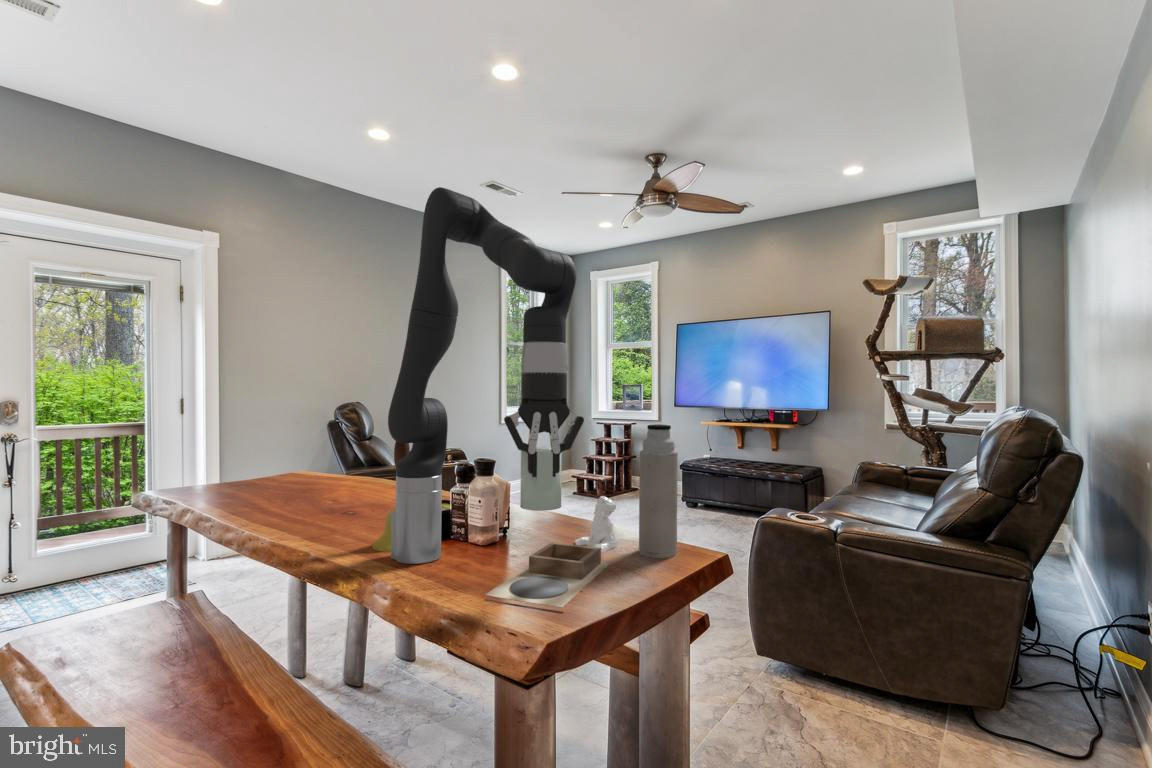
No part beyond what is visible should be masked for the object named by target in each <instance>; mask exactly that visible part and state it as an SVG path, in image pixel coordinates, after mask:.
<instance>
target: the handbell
mask: <svg viewBox="0 0 1152 768" xmlns="http://www.w3.org/2000/svg"><path fill="white" fill-rule="evenodd" d="M393 449H394V450H393V454H394V455H393V461H394V466H395V467H396V465H397V463H398V461H399V460H401V459H402V458H404V457H405V456H406V455H407V454H408V453H409V452H410V451H411V447H410V443H399V442H397V441H395V443H394V447H393ZM394 511H396V506H395V507H394V508H393V510H391V511H389V512H388V513H387V514H386V515H385V516H386V517H385V529H384V531H383V533H382V535H381V536H380V537H379V538H378V539H377V540H376V541H374V542H373V544H372V549H373V550H374V551H377V550H378V551H379V552H382V551H383V552H384V553H391V514H392V512H394ZM378 551H377V552H378Z"/></svg>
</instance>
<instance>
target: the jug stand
mask: <svg viewBox="0 0 1152 768" xmlns="http://www.w3.org/2000/svg"><path fill="white" fill-rule="evenodd" d="M609 565H610V563H604V562H602V553H601V548H596V547H588V546H587V545H576V544H570V543H569V544H568V543H559V542H553V541H552V542H550V543H548V544H547V545H545V546H544V547H542V548H541V549H539V550H537V551H536V552H534V553H532V554H530V555H529V556H528V566H526V567H525V568H523V569H522V570H521V571H519V572H517V573H515V574H514V575H513V576H511V577H510V578H508V579H507V580H506V581H504V582H502V583H500V584H499V585H497V586H496V587H494V588H493V589H491V590H490V591H488V592H487V593H485V594H484V596H487V597H494V598H500V599H505V600H511V601H519V602H524V603H529V604H537V605H543V606H548V607H549V606H550V607H555V608H564V607H565V606H566V605H567V604H568V603H569V602H570V601H571V600H572V599H573V598H574V597H575V596H577V594H579V593H580V592H581V591H582V590H583V589H584V588H586V586H588V585H589V583H590V582H592V581H593V580H594V579H595V578H596V577H597V576H598V575H599V574H600V573H602V572H603V571H604V570H605V569H606V568H607V567H608V566H609ZM483 601H484V602H488V603H495V604H502V605H507V606H514V607H520V608H526V609H530V610H531V609H532V610H537V611H542V612H543V611H544V612H548V613H555V614H560V615H562V614H563V613H564V611H560V610H552V609H548V608H540V607H534V606H529V605H523V604H517V603H510V602H506V601H505V602H503V601H500V600H493V599H492V600H491V599H484V600H483Z"/></svg>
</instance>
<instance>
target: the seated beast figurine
mask: <svg viewBox="0 0 1152 768" xmlns="http://www.w3.org/2000/svg"><path fill="white" fill-rule="evenodd" d="M616 509H617V505H616V504H615V503H614V502H613V500H612V499H610V498H608V497H606V496H605V495H600V497H599V498H598V499H597V501H596V504H595V508H594V511H593V519H592V522H591V523H590V529H591V530H590V535H589V536H582V537H579V538H577V539H575V540H574V545H579V546H588V547H596V548H601V554H602V553H605V552H608V551H609V550H613V549H615V548H616V547H618V545H619V540H620V539H619V537H618V535H617V534H616V531H615V528H614V524H613V522H612V519H611V518H610V516H611V515H612V514H613V513H614V512H615V510H616Z"/></svg>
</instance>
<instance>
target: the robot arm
mask: <svg viewBox="0 0 1152 768" xmlns="http://www.w3.org/2000/svg"><path fill="white" fill-rule="evenodd" d="M421 227H422V228H421V229H422V230H421V241H420V249H419V250H420V251H419V252H420V253H419V262H418V270H417V275H416V283H415V288H414V293H413V299H412V303H411V308H410V314H409V318H408V324H407V333H406V340H405V346H404V351H403V354H402V360H401V366H400V369H399V373H398V377H397V381H396V385H395V388H394V391H393V395H392V399H391V402H390V405H389V409H388V415H387V426H388V427H387V428H388V431H389V434H390V436H391V438H392V440H394V441H395V442H396V441H397V442H399V443H409V444H412V446H411V448H410V452H409V453H408V454H407V455H406V456H405V457H404V458H402V459H401V460H399V461H398V463H397V465H396V466H395V507H396V511H394V512H392V514H391V552H390V559H392V560H395V561H396V562H398V563H401V564H409V565H410V564H411V565H412V564H415V565H416V564H425V563H431V562H434V561H436V560H439V559H440V558H441V557H442V504H443V503H442V501H443V500H442V497H443V496H442V492H443V491H442V487H443V485H442V482H443V481H442V479H443V478H442V477H443V466H444V463H445V461H446V457H447V444H448V428H449V427H448V425H449V424H448V422H449V421H448V413H447V411H446V408H445V405H444V404H443V403H442V402H441V401H440V400H438V399H437V398H432V397H425V396H426V395H425V394H426V392H427V391H426V390H427V386H428V383H429V381H430V378H431V375H432V373H433V371H434V370H435V369H436V367H437V365H439V362H441V360H442V358H443V357H444V356H445V354H446V353H447V351H448V350H449V348H450V347H451V344H452V342H453V340H454V336H455V331H456V327H457V321H458V314H459V303H458V298H457V296H456V295H457V294H456V292H455V290H454V287H453V284H452V281H451V279H450V276H449V273H448V269H447V265H446V249H447V248H446V246H447V240H451V241H454V242H457V243H462V244H469V245H472V246H477V247H480V248H482V251H483V254H484V255H485V256H486V258H487V259H489V261H490V262H493V263H494V264H495V265H496V266H498V267H499V268H501V269H502V270H503V271H505V272H506V274H507V275H508V276H509V277H510V279H511V280H512V282H513V283H514V284H515V285H517V286H518V287H520V288H521V289H523V290H526V291H530V292H535V293H541V294H542V293H543V294H544V297H543V301H542V303H541V305H539V306H538V305H537V306H533V307H530V308H528V309H526V310H525V311H524V313H523V323H522V324H523V326H522V327H523V335H522V336H523V337H522V338H523V339H522V341H523V342H522V343H523V344H522V352H521V364H520V368H521V376H520V377H521V382H520V383H521V384H520V385H521V387H520V389H521V390H520V391H521V392H520V394H521V396H520V398H521V399H520V405H519V406H518V409H517V411H516V412H514V413H512V414H510V415H506V416H505V417H504V418H503V422H504V423H505V425H506V428H507V430H508V432H509V433H510V435H511V438H512V440H513V441H514V444H515V446H516V448H517V450H519V451H521V450H522V451H525V452H527V454H528V471H529V474H532V477H536V476H537V454H536V446H538V445H537V443H538V439H539V434H540V433H548V434H549V435H548V436H549V441H550V446H551V450H552V452H553V477H556V473H559V471H560V453H561V452H564V451H568V450H570V449H571V448H572V445H573V444H574V443H575V440H576V438H577V436H578V435H579V432H580V430H581V428H582V426H583V424H584V421H585V419H584V416H580V415H577V414H575V413H573V412H571V410H570V407H569V405H568V400H567V399H568V369H569V368H568V367H569V364H568V351H567V344H566V343H567V338H566V337H567V317H568V314H569V309H570V307H571V302H572V298H573V294H574V291H575V287H576V284H577V270H576V266H575V262H574V261H573V259H572V258H571V256H569V255H567V254H566V253H564V252H559V251H555V250H554V251H553V250H550V249H545V248H541V247H538V246H537V244H536V243H535V242H534V241H533V240H532V239H531V238H530V237H528V236H526V235H525V234H523V233H522V232H519V231H518V230H516V229H514V228H512V226H508V225H506V224H504V223H503V222H501V221H499V220H498V218H495V217H494V216H493V214H492V213H490V212H489V210H488V209H486V207H484V205H483V204H481V203H480V202H479V201H477V200H476V199H475V198H473V197H470V196H468V195H465V194H463V193H460V192H458V191H454V190H451V189H450V188H449V189H448V188H447V187H446V188H445V187H441V186H439V187H437V188H434V189H432V191H431V193H430V194H429V195H428V198H427V201H426V204H425V207H424V211H423V219H422V226H421ZM519 418H520V419H521V420H522V421H523V422H524V424H525V426H526V427H527V428H528V429H529V433H528V442H527V443H526V442H524V441H523V440H522V439H523V438H522V437H521V435H520V433H519V431H518V429H517V427H518V426H519V424H520V423H519ZM567 419H568V422H567V423H568V426H569V427H570V428H569V429H568V431H567V433H566V435H565V437H564V439H563V441H562V442H560V433H559V429H561V427H562V425H563V424H564V423H565V421H566V420H567Z"/></svg>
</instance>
